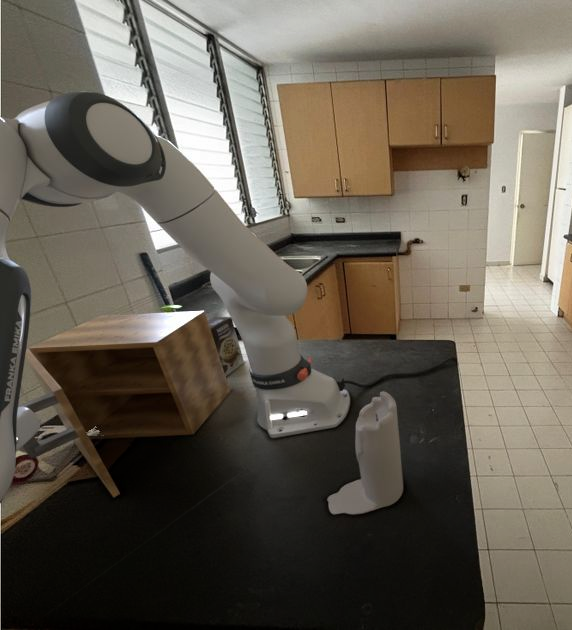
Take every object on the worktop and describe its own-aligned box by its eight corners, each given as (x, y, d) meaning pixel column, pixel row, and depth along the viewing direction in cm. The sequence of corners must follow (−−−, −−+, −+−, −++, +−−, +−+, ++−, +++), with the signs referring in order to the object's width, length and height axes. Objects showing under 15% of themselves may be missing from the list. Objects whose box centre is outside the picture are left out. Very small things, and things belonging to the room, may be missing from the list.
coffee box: (225, 378, 100) (209, 329, 94) (206, 376, 101) (190, 328, 95) (245, 362, 108) (232, 316, 102) (228, 361, 109) (214, 315, 103)
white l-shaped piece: (326, 489, 63) (307, 402, 55) (397, 469, 66) (390, 384, 58) (328, 525, 56) (308, 432, 48) (407, 499, 60) (400, 409, 52)
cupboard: (193, 434, 78) (156, 342, 68) (80, 439, 78) (28, 348, 68) (230, 391, 94) (204, 310, 84) (136, 395, 94) (100, 315, 84)
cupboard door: (72, 522, 58) (-2, 412, 49) (38, 460, 72) (-24, 364, 63) (120, 493, 64) (61, 388, 54) (80, 440, 78) (28, 349, 68)
